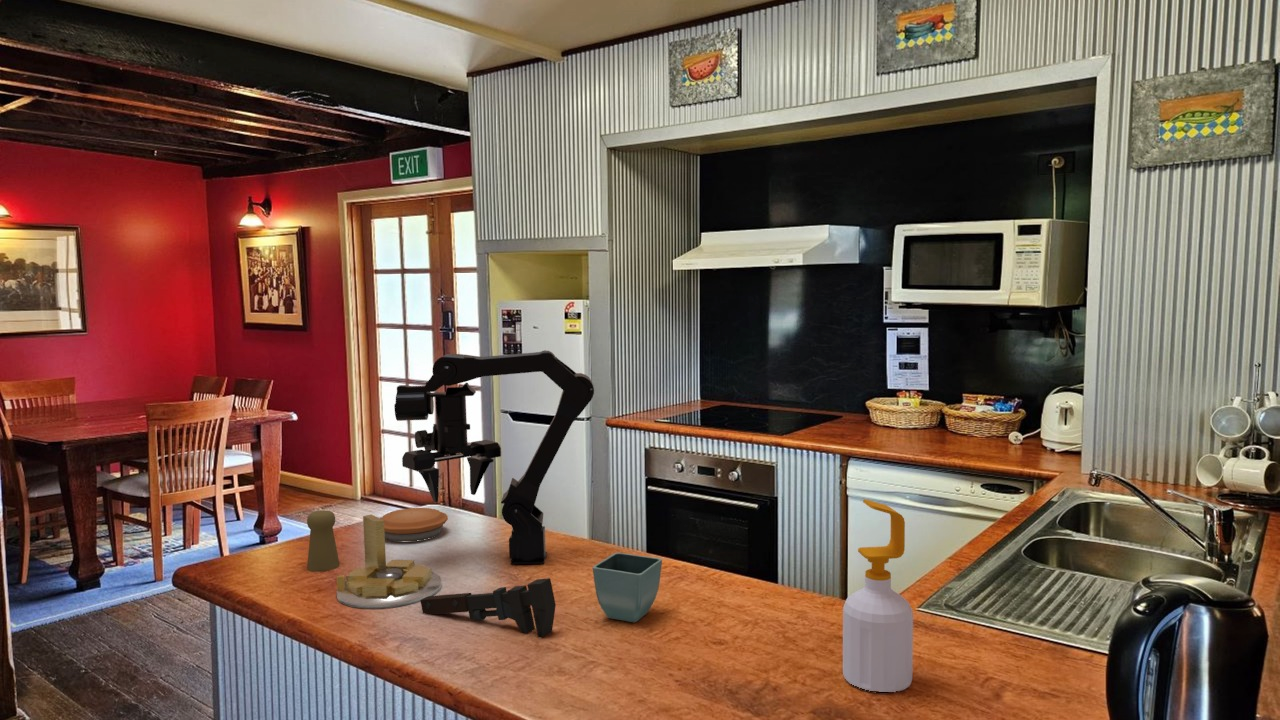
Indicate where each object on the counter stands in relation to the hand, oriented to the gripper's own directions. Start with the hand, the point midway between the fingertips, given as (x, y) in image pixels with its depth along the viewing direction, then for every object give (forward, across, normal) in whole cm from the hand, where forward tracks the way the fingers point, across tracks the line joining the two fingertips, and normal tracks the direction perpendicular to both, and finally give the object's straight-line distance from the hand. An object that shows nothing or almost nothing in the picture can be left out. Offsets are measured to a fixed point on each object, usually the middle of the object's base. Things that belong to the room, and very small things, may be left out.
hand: (454, 498), depth 169 cm
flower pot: (+13, -7, +44) cm, 47 cm away
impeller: (+13, +16, +5) cm, 22 cm away
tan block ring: (+11, +16, +4) cm, 21 cm away
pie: (+13, -2, -24) cm, 28 cm away
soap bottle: (+14, -17, +84) cm, 87 cm away
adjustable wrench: (+14, +12, +30) cm, 35 cm away
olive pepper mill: (+13, +20, -16) cm, 29 cm away
